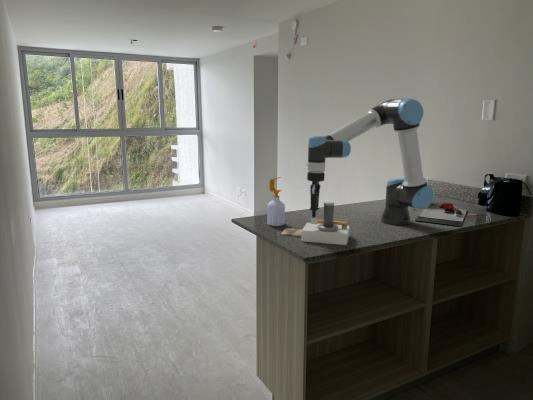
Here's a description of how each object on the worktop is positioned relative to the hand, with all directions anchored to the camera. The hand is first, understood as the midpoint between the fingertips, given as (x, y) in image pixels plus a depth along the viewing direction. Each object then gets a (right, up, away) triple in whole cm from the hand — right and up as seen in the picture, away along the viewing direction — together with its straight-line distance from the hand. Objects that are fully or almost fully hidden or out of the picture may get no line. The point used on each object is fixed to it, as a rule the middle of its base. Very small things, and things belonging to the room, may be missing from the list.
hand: (313, 223), depth 184 cm
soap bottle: (-16, -2, +28) cm, 32 cm away
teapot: (+76, +8, +81) cm, 111 cm away
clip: (+8, 0, +4) cm, 9 cm away
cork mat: (-8, -5, +12) cm, 16 cm away
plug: (+6, -7, +2) cm, 10 cm away
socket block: (+6, -7, +4) cm, 10 cm away
